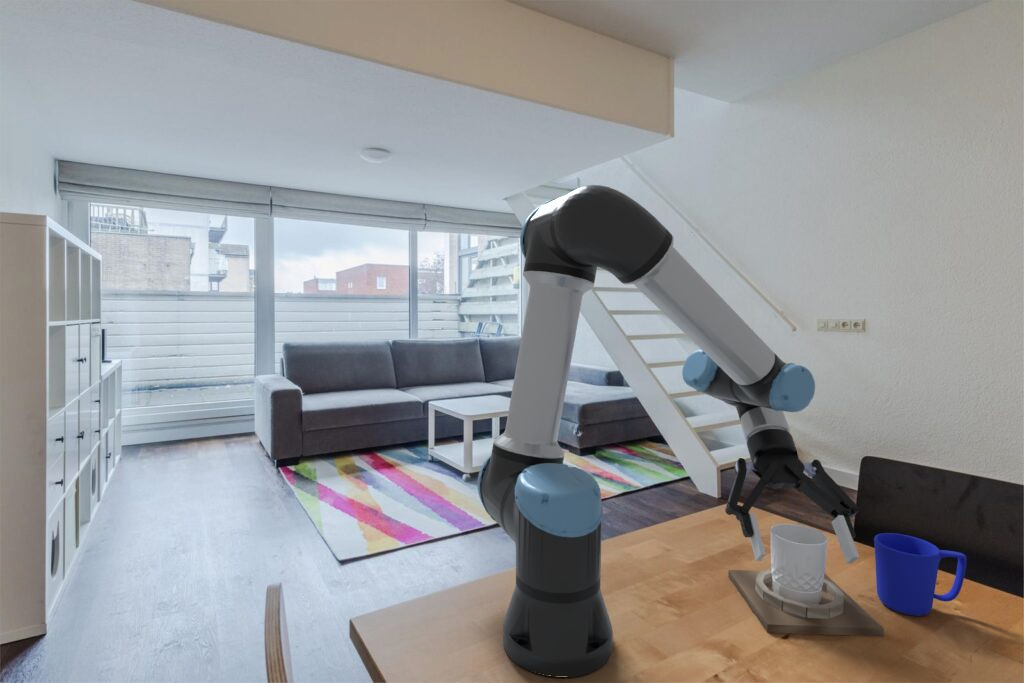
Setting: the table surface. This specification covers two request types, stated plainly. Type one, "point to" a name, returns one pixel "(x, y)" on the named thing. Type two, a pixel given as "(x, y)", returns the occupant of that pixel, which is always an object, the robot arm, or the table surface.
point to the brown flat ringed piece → (803, 608)
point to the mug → (912, 573)
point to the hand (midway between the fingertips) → (806, 559)
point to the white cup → (798, 562)
